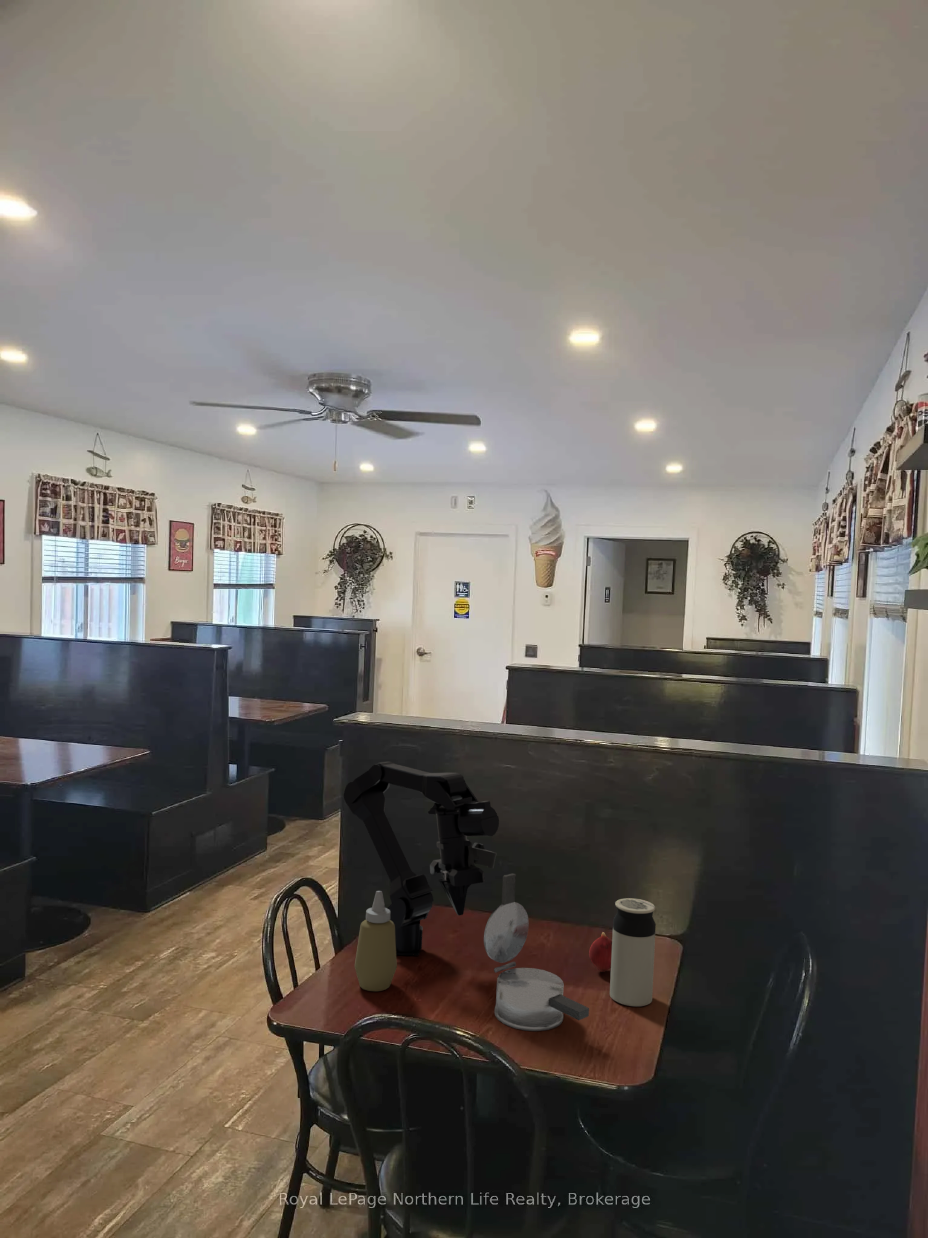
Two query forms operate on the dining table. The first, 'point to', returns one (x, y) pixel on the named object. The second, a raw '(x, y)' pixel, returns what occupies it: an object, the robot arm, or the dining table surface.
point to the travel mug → (633, 952)
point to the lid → (506, 927)
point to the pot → (533, 1000)
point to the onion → (601, 953)
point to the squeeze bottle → (376, 948)
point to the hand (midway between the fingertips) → (460, 915)
